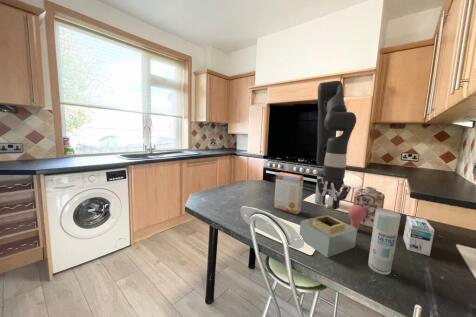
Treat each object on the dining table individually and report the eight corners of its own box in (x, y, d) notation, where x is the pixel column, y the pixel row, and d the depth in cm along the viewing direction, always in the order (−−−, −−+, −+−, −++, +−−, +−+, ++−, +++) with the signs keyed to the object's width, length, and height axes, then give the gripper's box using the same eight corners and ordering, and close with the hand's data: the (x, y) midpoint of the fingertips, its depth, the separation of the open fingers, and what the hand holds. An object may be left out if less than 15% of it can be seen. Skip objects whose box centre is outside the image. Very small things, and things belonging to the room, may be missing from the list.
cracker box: (300, 211, 110) (304, 175, 106) (296, 215, 105) (299, 177, 102) (278, 205, 118) (280, 171, 115) (273, 208, 114) (275, 173, 111)
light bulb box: (430, 256, 73) (435, 230, 72) (407, 250, 77) (411, 224, 75) (422, 243, 82) (427, 219, 81) (402, 238, 86) (406, 215, 84)
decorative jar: (381, 221, 101) (386, 188, 98) (377, 229, 93) (383, 193, 90) (355, 214, 109) (359, 183, 106) (349, 221, 101) (354, 187, 98)
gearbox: (325, 230, 90) (327, 211, 89) (354, 247, 78) (357, 225, 76) (299, 238, 83) (301, 217, 81) (327, 257, 71) (329, 233, 69)
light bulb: (361, 227, 94) (364, 203, 92) (365, 234, 87) (369, 209, 86) (344, 224, 96) (347, 201, 95) (347, 231, 90) (350, 206, 88)
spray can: (369, 271, 65) (378, 214, 62) (365, 259, 70) (373, 206, 67) (393, 277, 62) (404, 218, 59) (387, 264, 68) (397, 210, 65)
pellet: (328, 204, 81) (330, 193, 80) (337, 208, 77) (339, 196, 76) (322, 206, 79) (323, 194, 78) (330, 210, 75) (332, 197, 74)
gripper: (359, 167, 71) (353, 212, 73) (325, 161, 83) (321, 199, 86) (345, 168, 67) (339, 215, 70) (313, 162, 80) (309, 201, 83)
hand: (329, 206), depth 78 cm, fingers closed on pellet, 4 cm apart
